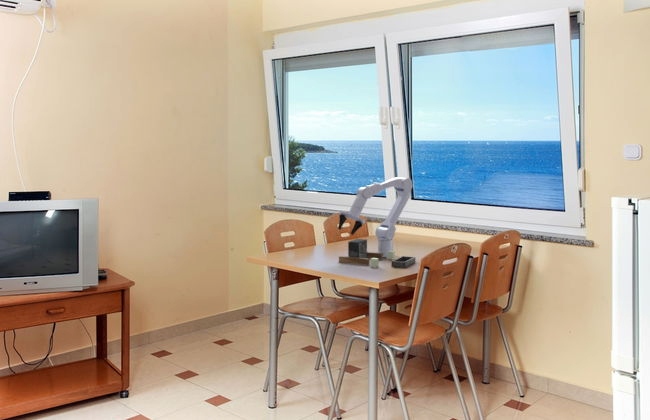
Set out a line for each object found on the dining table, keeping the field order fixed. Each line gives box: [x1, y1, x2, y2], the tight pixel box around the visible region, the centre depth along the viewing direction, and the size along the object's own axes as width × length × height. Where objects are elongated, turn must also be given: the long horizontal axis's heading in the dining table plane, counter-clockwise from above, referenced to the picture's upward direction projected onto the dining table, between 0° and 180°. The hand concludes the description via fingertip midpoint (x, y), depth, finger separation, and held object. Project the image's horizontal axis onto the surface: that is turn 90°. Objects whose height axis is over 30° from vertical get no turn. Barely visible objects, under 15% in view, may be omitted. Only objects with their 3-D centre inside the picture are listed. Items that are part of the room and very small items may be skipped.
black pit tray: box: [390, 255, 416, 269], centre depth 315 cm, size 16×7×3 cm, turn 154°
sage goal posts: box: [370, 250, 396, 268], centre depth 320 cm, size 26×3×4 cm, turn 154°
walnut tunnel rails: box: [338, 251, 384, 266], centre depth 325 cm, size 20×16×3 cm
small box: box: [347, 238, 368, 258], centre depth 326 cm, size 11×6×10 cm, turn 152°
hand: (345, 231), depth 324 cm, fingers open, 7 cm apart
